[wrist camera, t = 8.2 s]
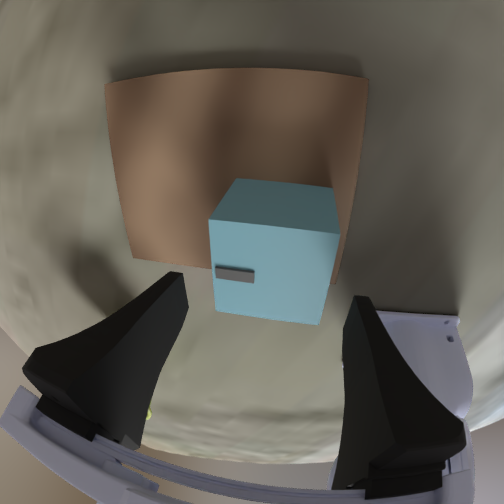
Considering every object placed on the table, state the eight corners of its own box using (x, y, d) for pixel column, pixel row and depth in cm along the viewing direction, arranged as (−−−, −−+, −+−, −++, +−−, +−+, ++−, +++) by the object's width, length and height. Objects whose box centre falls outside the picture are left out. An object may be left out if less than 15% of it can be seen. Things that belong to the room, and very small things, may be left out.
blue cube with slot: (333, 188, 15) (340, 236, 11) (319, 266, 18) (318, 327, 14) (236, 178, 16) (207, 220, 12) (237, 256, 19) (214, 312, 15)
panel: (364, 78, 12) (368, 78, 11) (334, 273, 20) (335, 284, 19) (115, 82, 15) (104, 84, 14) (140, 249, 22) (133, 257, 21)
